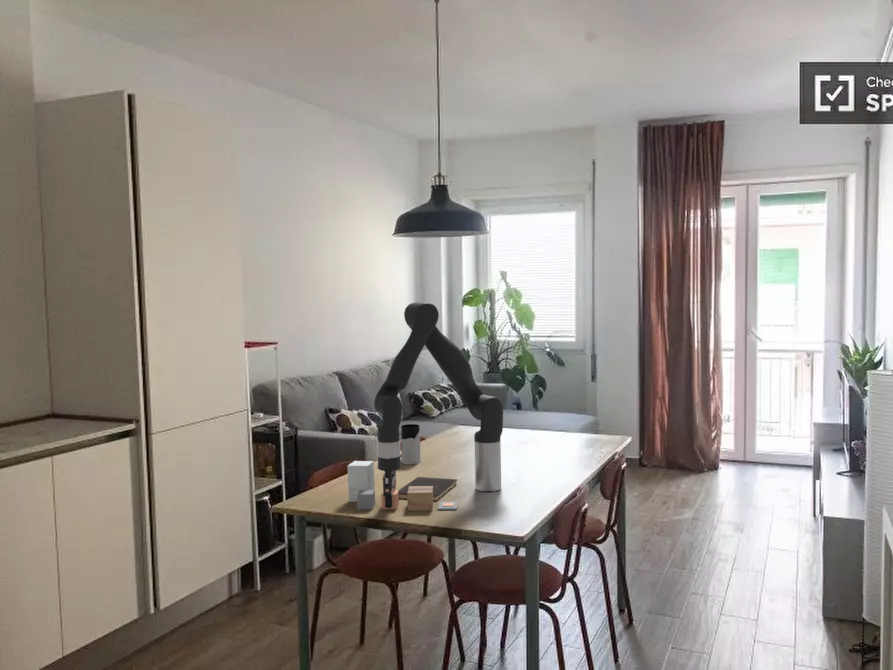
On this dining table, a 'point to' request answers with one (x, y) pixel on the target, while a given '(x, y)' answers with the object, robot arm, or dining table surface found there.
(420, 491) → the walnut base block
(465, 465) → the dining table surface
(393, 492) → the terracotta block
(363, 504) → the grey cube
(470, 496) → the dining table surface
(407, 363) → the robot arm
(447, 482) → the hardcover book
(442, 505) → the card
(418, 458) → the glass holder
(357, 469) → the supplement box
